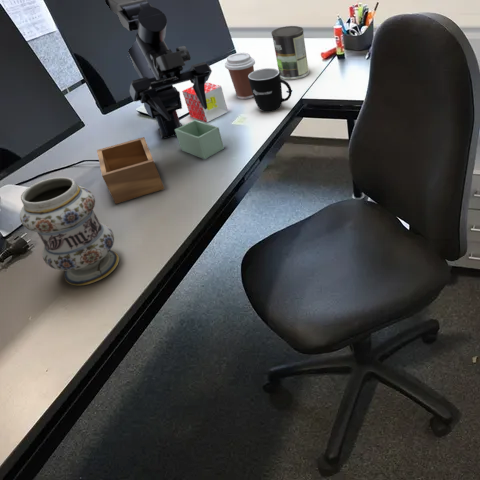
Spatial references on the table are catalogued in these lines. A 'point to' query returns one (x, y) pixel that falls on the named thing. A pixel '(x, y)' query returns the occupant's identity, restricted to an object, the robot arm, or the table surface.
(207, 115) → the red and white cube
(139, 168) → the crate
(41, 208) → the apothecary jar
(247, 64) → the coffee cup
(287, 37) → the coffee can
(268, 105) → the mug
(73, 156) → the table surface
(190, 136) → the bin
